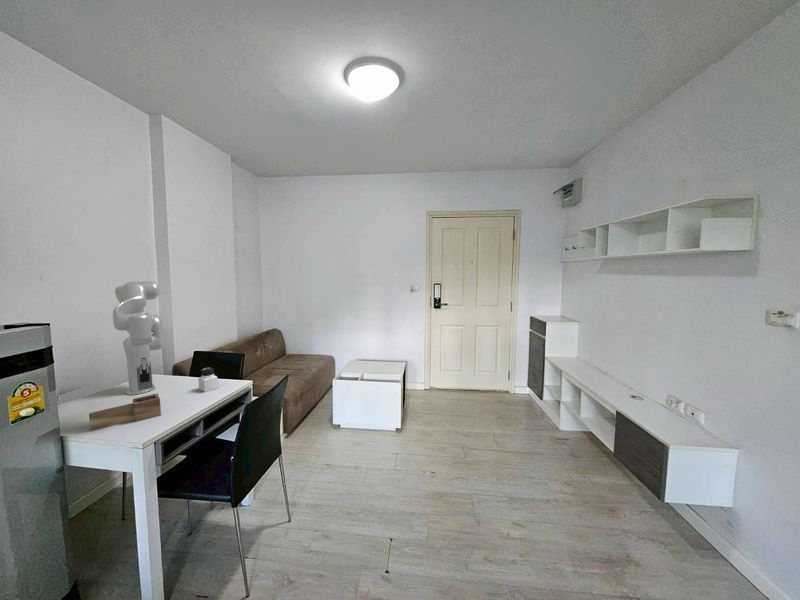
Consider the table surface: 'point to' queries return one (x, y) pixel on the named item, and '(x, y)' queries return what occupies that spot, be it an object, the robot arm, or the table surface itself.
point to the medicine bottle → (208, 380)
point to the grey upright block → (145, 384)
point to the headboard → (126, 412)
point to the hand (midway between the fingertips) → (144, 380)
